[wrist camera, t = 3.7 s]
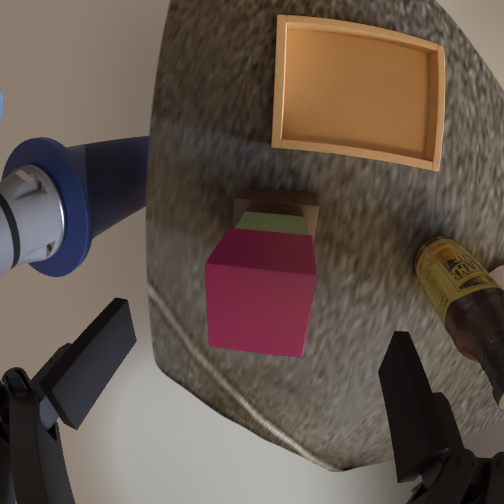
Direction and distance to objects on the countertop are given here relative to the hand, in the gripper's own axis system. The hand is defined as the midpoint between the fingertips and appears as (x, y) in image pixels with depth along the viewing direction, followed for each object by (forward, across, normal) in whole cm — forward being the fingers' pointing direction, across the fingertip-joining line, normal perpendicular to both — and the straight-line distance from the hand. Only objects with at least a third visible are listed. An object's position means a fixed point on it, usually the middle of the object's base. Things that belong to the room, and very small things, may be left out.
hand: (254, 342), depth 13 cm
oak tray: (+18, +7, +14) cm, 24 cm away
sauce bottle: (+18, +18, -2) cm, 25 cm away
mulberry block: (+8, 0, 0) cm, 8 cm away
